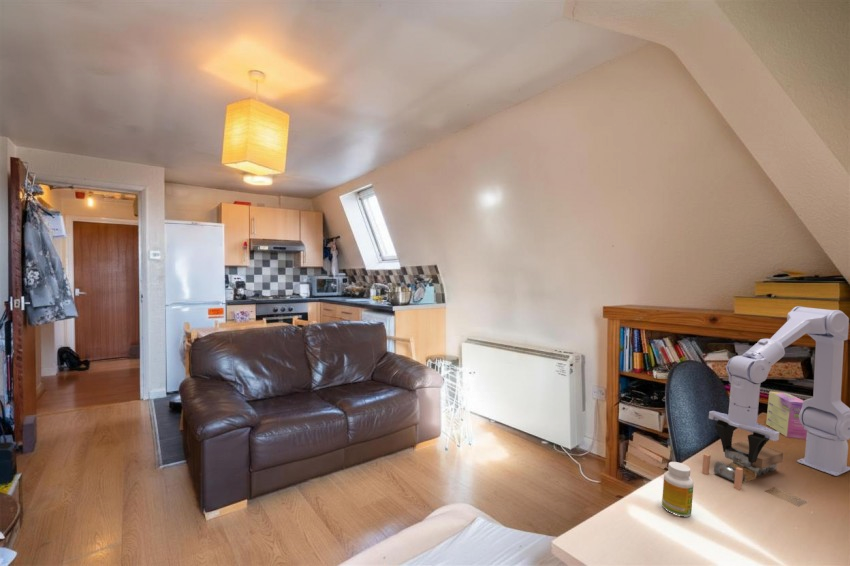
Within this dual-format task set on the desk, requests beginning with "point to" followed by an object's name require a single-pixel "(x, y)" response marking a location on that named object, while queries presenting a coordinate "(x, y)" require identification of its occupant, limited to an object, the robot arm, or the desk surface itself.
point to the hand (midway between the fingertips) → (739, 456)
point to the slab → (761, 455)
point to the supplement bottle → (678, 489)
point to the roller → (737, 456)
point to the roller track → (751, 474)
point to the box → (785, 415)
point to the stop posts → (737, 472)
